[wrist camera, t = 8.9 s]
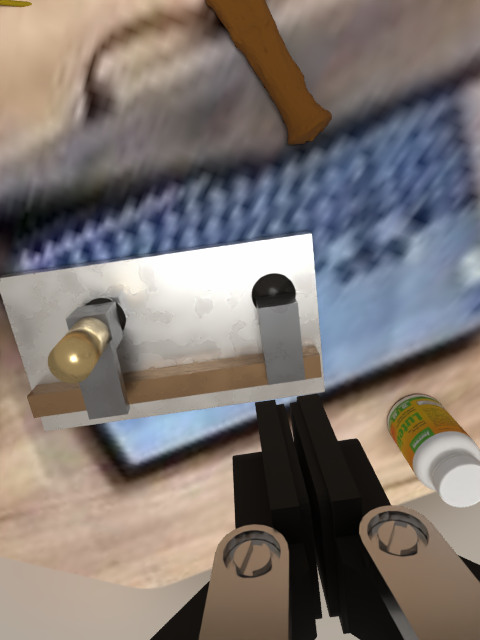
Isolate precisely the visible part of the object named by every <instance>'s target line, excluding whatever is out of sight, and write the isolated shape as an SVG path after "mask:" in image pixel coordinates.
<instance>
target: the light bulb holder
mask: <svg viewBox="0 0 480 640" xmlns="http://www.w3.org/2000/svg"><path fill="white" fill-rule="evenodd" d="M66 323H67V326H68V330H69V331H68V332H67V333H66V335H65V336H64V337H63V338H62V339H61V340H60V341H59V342H58V344H57V345H56V346H55V347H54V348H53V349H52V350H51V352H50V353H49V356H48V367H49V369H50V371H51V373H52V374H53V375H54V376H55V377H56V378H57V379H59V380H61V381H63V382H66V383H78V382H79V385H80V388H81V392H82V396H83V399H84V403H85V406H86V410H87V413H88V417H89V420H91V419H98V418H105V417H112V416H119V415H126V414H128V412H129V410H130V405H129V401H128V397H127V393H126V389H125V385H124V380H123V376H122V372H121V368H120V364H119V360H118V356H117V352H116V349H117V347H118V345H119V344H120V342H121V340H122V338H123V333H122V329H121V324H120V320H119V316H118V312H117V308H116V303H115V302H109V303H102V304H95V305H88V306H80V307H77V308H76V309H75V310H74V311H73V312H72V313H71V314H70V315H69V316H68V317H67V318H66Z"/></svg>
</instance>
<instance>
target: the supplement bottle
mask: <svg viewBox="0 0 480 640" xmlns="http://www.w3.org/2000/svg"><path fill="white" fill-rule="evenodd" d="M387 425H388V430H389V432H390V434H391V436H392V437H393V439H394V441H395V442H396V444H397V446H398V447H399V449H400V450H401V452H402V454H403V455H404V457H405V459H406V460H407V462H408V463H409V465H410V467H411V468H412V470H413V471H414V473H415V475H416V476H417V478H418V479H419V480H420V481H421V483H422V484H424V485H425V486H426V487H428V488H430V489H432V490H435V491H437V493H438V494H439V495H440V497H441V498H442V500H443V501H445V502H446V503H447V504H449V505H451V506H454V507H467V506H471V505H474V504H476V503H478V502H479V501H480V450H479V448H478V446H477V445H476V443H475V442H474V441H473V440H472V439H471V437H470V436H469V435H468V434H467V433H466V432H465V431H464V430H463V429H462V428H461V426H460V425H459V424H458V423H457V422H456V421H455V420H454V419H453V418H452V416H451V415H450V414H449V413H448V412H447V411H446V410H445V409H444V407H443V406H442V405H441V404H440V403H439V402H438V401H437V400H435V399H434V398H432V397H430V396H427V395H420V394H418V395H411V396H408V397H405V398H403V399H401V400H400V401H399V402H397V403H396V404H395V405H394V406H393V408H392V409H391V411H390V413H389V416H388V420H387Z"/></svg>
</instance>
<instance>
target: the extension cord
mask: <svg viewBox="0 0 480 640" xmlns="http://www.w3.org/2000/svg"><path fill="white" fill-rule="evenodd" d="M0 5H5V6H16V7H25V6H29V5H32V3H30V2H24V1H13V0H0Z"/></svg>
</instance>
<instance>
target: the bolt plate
mask: <svg viewBox="0 0 480 640" xmlns="http://www.w3.org/2000/svg"><path fill="white" fill-rule="evenodd" d="M0 293H1V296H2V299H3V302H4V305H5V308H6V311H7V315H8V318H9V321H10V324H11V327H12V330H13V333H14V336H15V339H16V343H17V346H18V349H19V352H20V355H21V358H22V361H23V364H24V367H25V370H26V374H27V377H28V380H29V383H30V386H31V389H32V391H31V392H30V394H29V395H28V396H27V398H28V401H29V404H30V407H31V410H32V413H33V416H34V418H37V417H41V420H42V423H43V426H44V430H45V431H50V430H57V429H64V428H71V427H78V426H85V425H92V424H100V423H107V422H114V421H121V420H128V419H135V418H142V417H149V416H156V415H163V414H170V413H177V412H184V411H192V410H199V409H206V408H213V407H220V406H227V405H234V404H241V403H248V402H255V401H262V400H269V399H276V398H283V397H291V396H298V395H305V394H312V393H319V392H325V388H324V376H323V364H322V352H321V340H320V328H319V316H318V304H317V292H316V280H315V268H314V256H313V244H312V233H310V232H309V231H303V232H296V233H289V234H282V235H275V236H269V237H262V238H255V239H248V240H241V241H234V242H227V243H220V244H213V245H206V246H199V247H192V248H185V249H178V250H171V251H164V252H157V253H150V254H143V255H136V256H129V257H122V258H115V259H108V260H101V261H94V262H87V263H80V264H73V265H66V266H59V267H52V268H45V269H38V270H31V271H24V272H17V273H10V274H4V275H2V276H0ZM109 302H115V303H116V308H117V312H118V316H119V320H120V324H121V329H122V333H123V338H122V340H121V342H120V344H119V345H118V347H117V349H116V352H117V356H118V360H119V364H120V368H121V372H122V376H123V380H124V385H125V389H126V393H127V397H128V401H129V405H130V410H129V412H128V414H126V415H119V416H112V417H105V418H98V419H91V420H89V417H88V413H87V410H86V406H85V403H84V399H83V396H82V392H81V388H80V385H79V382H78V383H66V382H63V381H61V380H59V379H57V378H56V377H55V376H54V375H53V374H52V373H51V371H50V369H49V367H48V356H49V353H50V352H51V350H52V349H53V348H54V347H55V346H56V345H57V344H58V342H59V341H60V340H61V339H62V338H63V337H64V336H65V335H66V333H67V332H68V331H69V330H68V326H67V323H66V318H67V317H68V316H69V315H70V314H71V313H72V312H73V311H74V310H75V309H76V308H77V307H80V306H88V305H95V304H102V303H109Z"/></svg>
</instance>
